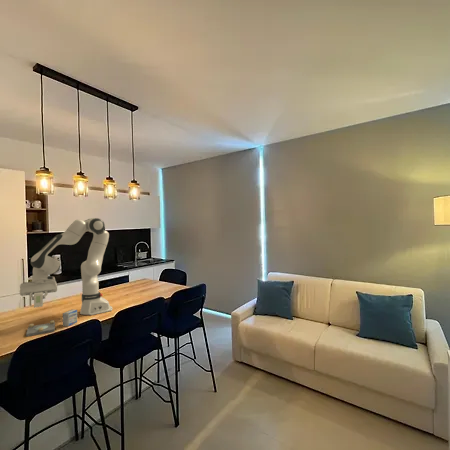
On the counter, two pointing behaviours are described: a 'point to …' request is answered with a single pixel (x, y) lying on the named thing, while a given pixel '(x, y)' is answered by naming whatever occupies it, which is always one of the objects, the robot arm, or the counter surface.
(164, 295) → the counter surface
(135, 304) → the counter surface
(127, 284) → the counter surface
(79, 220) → the robot arm
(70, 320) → the medicine box
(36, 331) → the levelling base
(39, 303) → the block
